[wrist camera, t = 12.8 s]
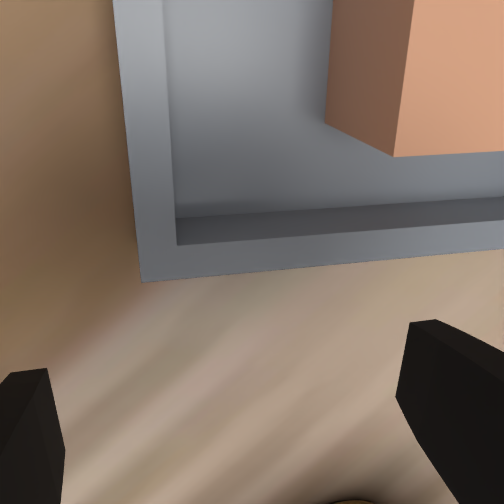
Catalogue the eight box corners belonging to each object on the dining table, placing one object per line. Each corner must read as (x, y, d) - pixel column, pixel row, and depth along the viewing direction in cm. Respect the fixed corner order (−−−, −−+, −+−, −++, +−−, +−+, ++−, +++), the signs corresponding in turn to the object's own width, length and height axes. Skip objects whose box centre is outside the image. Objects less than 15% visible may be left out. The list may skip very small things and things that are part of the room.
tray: (140, 244, 18) (141, 282, 15) (90, -268, 12) (76, -356, 9) (542, 213, 21) (600, 239, 19) (664, -187, 15) (775, -232, 13)
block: (324, 123, 16) (393, 157, 12) (334, -24, 15) (420, -46, 10) (437, 118, 17) (539, 148, 13) (461, -20, 15) (591, -40, 11)
